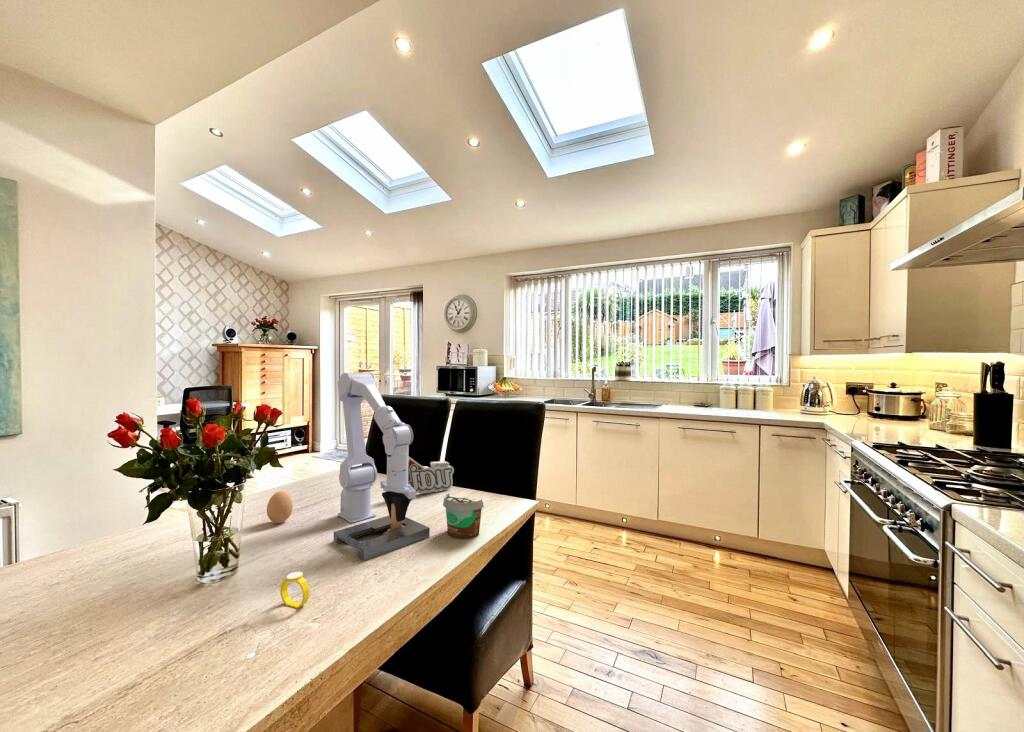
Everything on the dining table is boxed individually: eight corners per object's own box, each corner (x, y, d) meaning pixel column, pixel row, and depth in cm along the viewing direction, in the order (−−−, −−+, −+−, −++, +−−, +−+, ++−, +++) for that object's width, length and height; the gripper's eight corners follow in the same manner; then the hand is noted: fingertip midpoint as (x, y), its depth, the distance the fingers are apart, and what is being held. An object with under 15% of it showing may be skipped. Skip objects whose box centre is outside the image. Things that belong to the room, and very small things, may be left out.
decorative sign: (447, 493, 157) (451, 454, 157) (451, 495, 154) (455, 455, 155) (389, 500, 142) (394, 456, 143) (392, 502, 140) (397, 457, 141)
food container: (433, 535, 113) (433, 498, 113) (447, 527, 118) (447, 492, 118) (471, 544, 107) (471, 506, 107) (483, 536, 112) (483, 499, 112)
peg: (383, 533, 113) (384, 504, 113) (399, 528, 117) (400, 500, 116) (392, 538, 109) (393, 509, 109) (409, 533, 113) (409, 504, 113)
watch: (277, 607, 79) (276, 576, 79) (289, 600, 82) (288, 569, 82) (301, 612, 77) (300, 580, 77) (313, 604, 80) (311, 573, 80)
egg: (293, 524, 119) (293, 492, 119) (266, 528, 116) (267, 496, 116) (291, 516, 125) (291, 487, 125) (266, 521, 121) (266, 490, 121)
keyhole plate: (333, 541, 108) (333, 531, 108) (396, 521, 122) (396, 513, 122) (363, 561, 97) (364, 550, 97) (429, 536, 111) (429, 527, 111)
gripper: (370, 467, 115) (370, 515, 115) (399, 477, 105) (399, 530, 105) (393, 463, 120) (392, 509, 120) (422, 472, 110) (422, 522, 110)
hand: (397, 518), depth 113 cm, fingers closed on peg, 3 cm apart
